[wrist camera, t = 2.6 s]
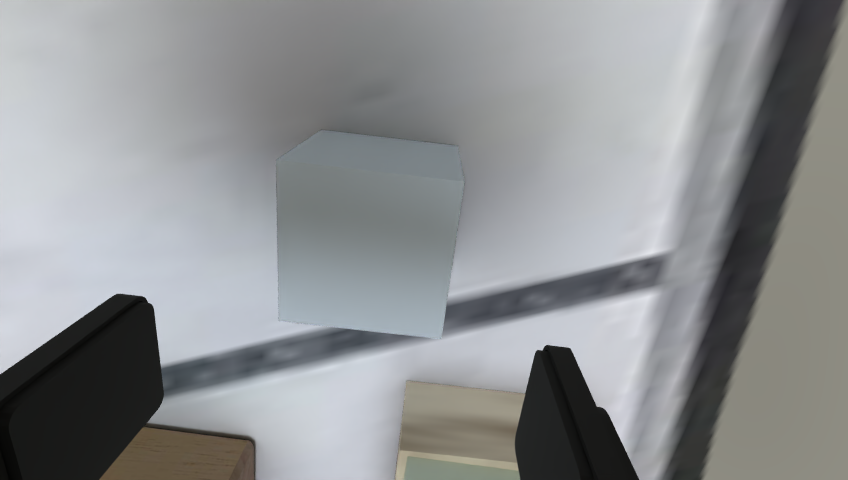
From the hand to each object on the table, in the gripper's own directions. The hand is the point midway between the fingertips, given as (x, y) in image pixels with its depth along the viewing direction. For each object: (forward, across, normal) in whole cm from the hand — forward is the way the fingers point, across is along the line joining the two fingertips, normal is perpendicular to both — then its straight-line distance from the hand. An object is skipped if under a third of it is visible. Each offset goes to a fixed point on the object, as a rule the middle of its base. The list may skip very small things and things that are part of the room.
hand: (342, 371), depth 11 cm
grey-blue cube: (+11, 0, -1) cm, 11 cm away
